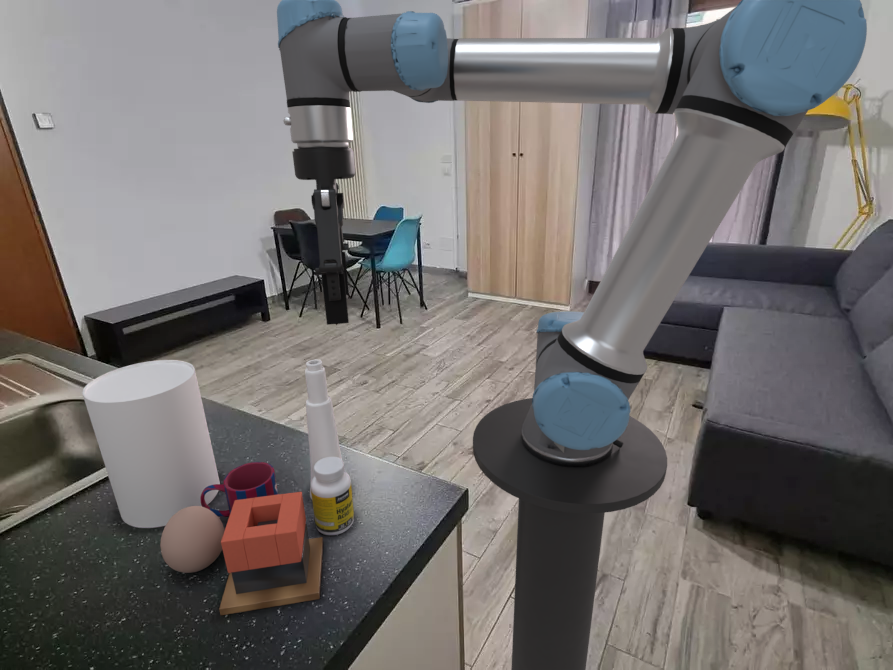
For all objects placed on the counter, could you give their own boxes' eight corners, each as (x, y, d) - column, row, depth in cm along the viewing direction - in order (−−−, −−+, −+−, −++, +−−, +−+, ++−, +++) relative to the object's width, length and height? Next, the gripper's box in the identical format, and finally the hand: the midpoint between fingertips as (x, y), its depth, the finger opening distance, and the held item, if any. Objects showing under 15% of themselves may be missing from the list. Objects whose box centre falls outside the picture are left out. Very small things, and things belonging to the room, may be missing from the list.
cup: (278, 527, 68) (271, 487, 66) (202, 538, 66) (191, 498, 64) (283, 496, 74) (276, 458, 72) (213, 506, 72) (204, 468, 70)
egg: (155, 573, 61) (139, 520, 58) (206, 535, 67) (193, 486, 64) (192, 596, 58) (177, 541, 55) (241, 554, 64) (230, 502, 61)
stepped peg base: (323, 542, 65) (317, 497, 63) (319, 599, 57) (312, 549, 54) (237, 555, 63) (227, 509, 61) (220, 615, 55) (207, 565, 53)
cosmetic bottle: (357, 490, 75) (344, 361, 67) (325, 511, 71) (307, 375, 63) (334, 474, 79) (319, 350, 71) (302, 493, 75) (282, 363, 67)
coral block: (306, 519, 62) (301, 491, 61) (301, 562, 56) (296, 531, 54) (240, 529, 61) (234, 499, 59) (227, 573, 55) (220, 542, 53)
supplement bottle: (342, 540, 66) (335, 480, 62) (308, 531, 67) (299, 472, 64) (361, 514, 70) (356, 457, 67) (329, 506, 72) (321, 450, 69)
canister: (97, 522, 70) (55, 399, 62) (163, 466, 82) (134, 357, 75) (182, 532, 67) (149, 405, 60) (236, 473, 80) (214, 362, 73)
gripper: (301, 147, 72) (317, 286, 79) (278, 144, 49) (303, 341, 56) (352, 146, 73) (363, 283, 80) (353, 143, 50) (369, 335, 57)
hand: (339, 307), depth 68 cm, fingers open, 13 cm apart
